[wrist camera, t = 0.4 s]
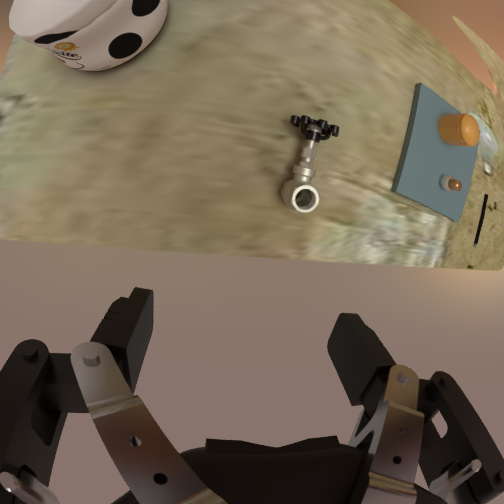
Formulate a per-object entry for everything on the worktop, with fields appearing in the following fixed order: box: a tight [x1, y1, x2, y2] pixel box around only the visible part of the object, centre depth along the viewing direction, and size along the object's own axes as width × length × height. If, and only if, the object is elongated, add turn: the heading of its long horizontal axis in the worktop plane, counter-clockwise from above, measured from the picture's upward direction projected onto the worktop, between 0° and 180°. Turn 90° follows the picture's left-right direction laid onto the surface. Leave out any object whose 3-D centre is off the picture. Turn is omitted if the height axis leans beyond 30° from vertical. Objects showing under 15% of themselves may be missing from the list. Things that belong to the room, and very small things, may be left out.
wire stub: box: [439, 175, 462, 191], centre depth 35 cm, size 3×3×4 cm
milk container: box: [9, 0, 168, 71], centre depth 17 cm, size 17×17×18 cm
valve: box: [280, 115, 339, 214], centre depth 33 cm, size 7×7×12 cm
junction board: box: [391, 83, 480, 223], centre depth 36 cm, size 20×18×2 cm
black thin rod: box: [474, 194, 488, 248], centre depth 42 cm, size 12×1×1 cm, turn 174°
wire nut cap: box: [438, 114, 480, 147], centre depth 31 cm, size 5×5×6 cm
